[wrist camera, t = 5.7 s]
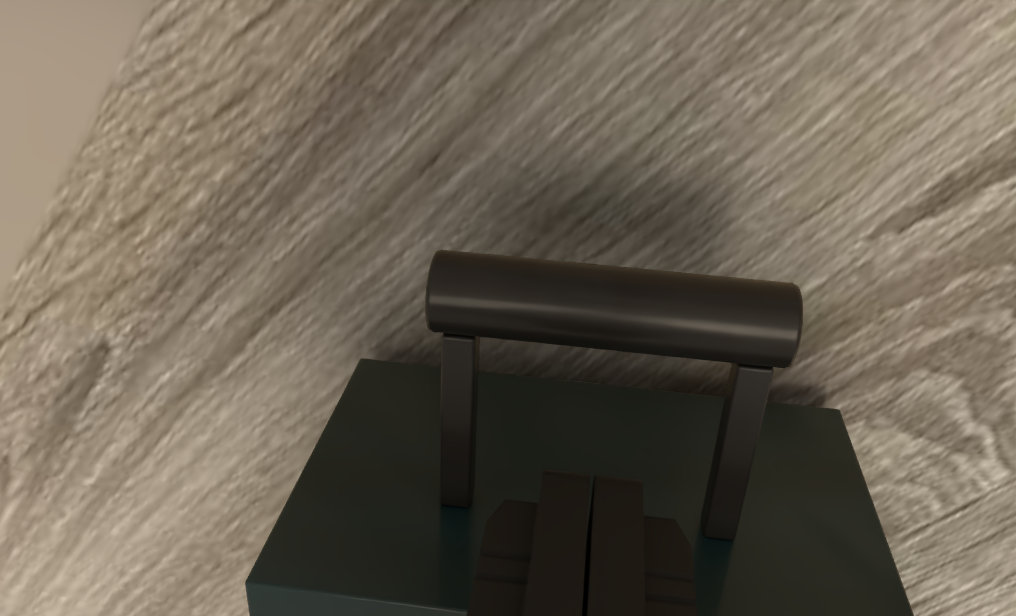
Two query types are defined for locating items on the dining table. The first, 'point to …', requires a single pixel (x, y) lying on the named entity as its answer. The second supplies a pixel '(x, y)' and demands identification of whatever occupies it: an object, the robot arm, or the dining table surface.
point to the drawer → (581, 451)
